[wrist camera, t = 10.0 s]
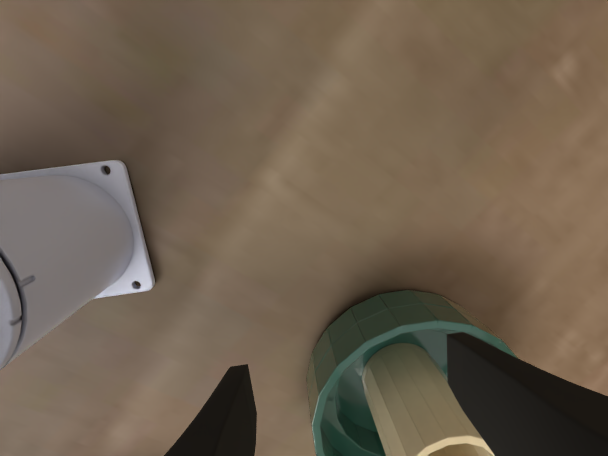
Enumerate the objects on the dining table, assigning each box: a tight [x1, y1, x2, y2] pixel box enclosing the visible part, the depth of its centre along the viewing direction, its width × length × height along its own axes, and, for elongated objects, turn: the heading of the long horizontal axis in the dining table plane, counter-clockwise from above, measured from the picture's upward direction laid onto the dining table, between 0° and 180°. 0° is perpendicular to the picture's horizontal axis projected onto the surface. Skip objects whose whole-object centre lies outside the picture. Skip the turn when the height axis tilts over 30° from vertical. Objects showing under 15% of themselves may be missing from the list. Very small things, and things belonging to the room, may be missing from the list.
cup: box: [362, 343, 495, 456], centre depth 19 cm, size 5×5×8 cm
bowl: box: [307, 290, 517, 456], centre depth 21 cm, size 13×13×4 cm
